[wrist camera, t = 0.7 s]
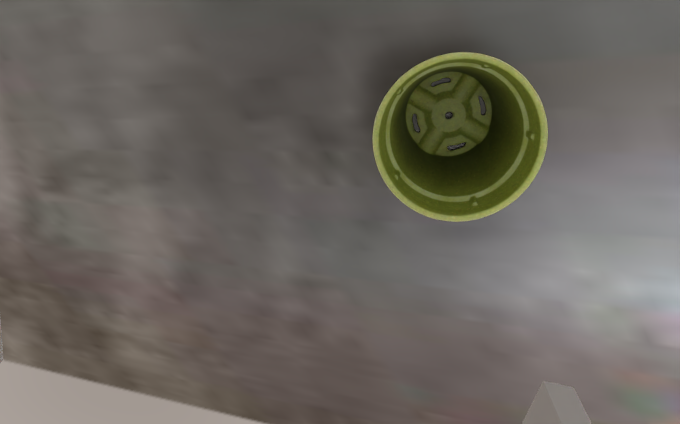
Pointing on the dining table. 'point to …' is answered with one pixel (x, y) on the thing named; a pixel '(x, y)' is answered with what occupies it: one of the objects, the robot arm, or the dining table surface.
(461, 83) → the plant pot
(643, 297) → the dining table surface
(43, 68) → the dining table surface
